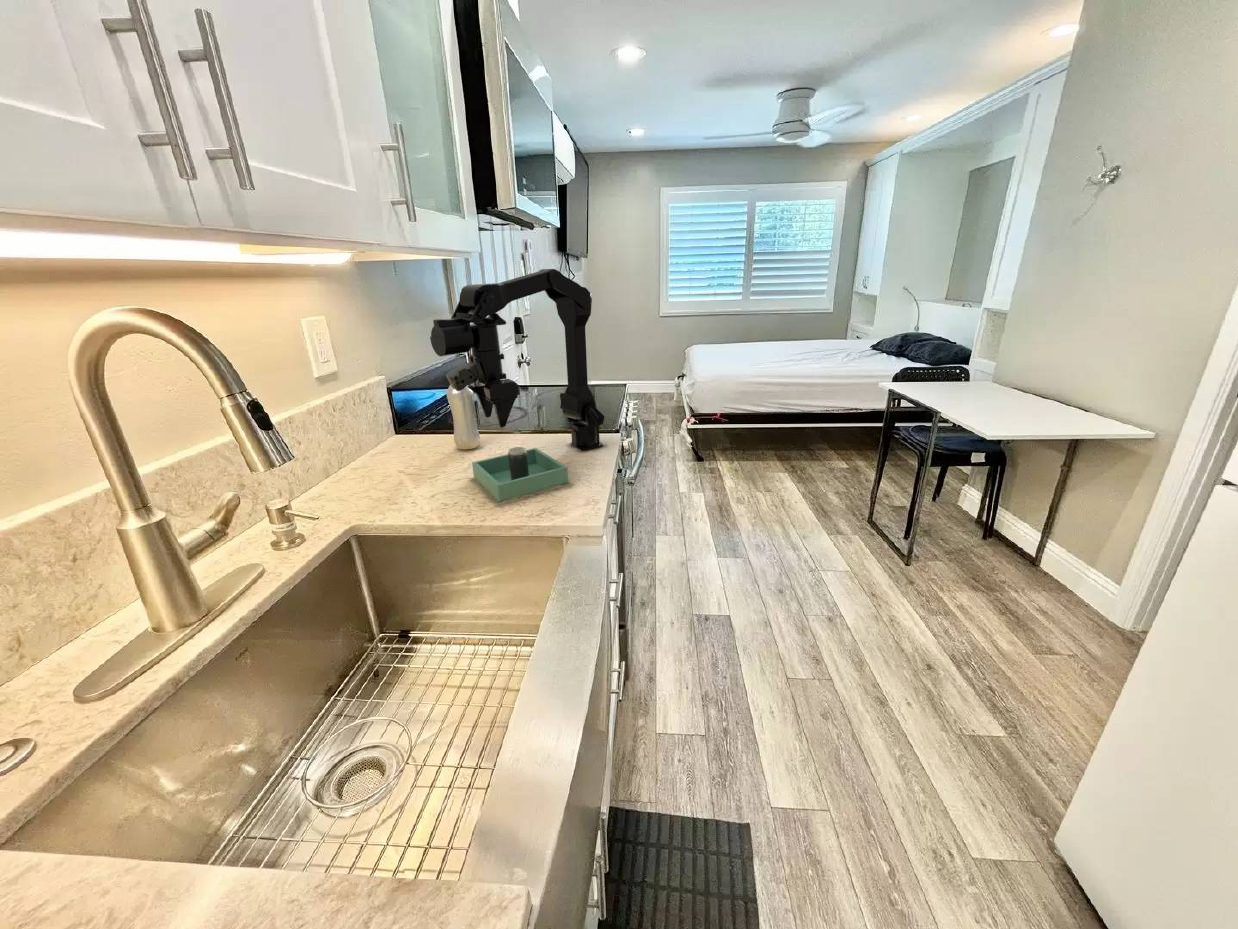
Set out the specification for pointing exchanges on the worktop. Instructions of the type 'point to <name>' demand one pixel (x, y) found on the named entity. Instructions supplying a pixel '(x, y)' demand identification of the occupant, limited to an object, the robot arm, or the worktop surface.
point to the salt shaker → (518, 463)
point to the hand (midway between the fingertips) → (495, 421)
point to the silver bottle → (463, 418)
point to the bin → (501, 486)
